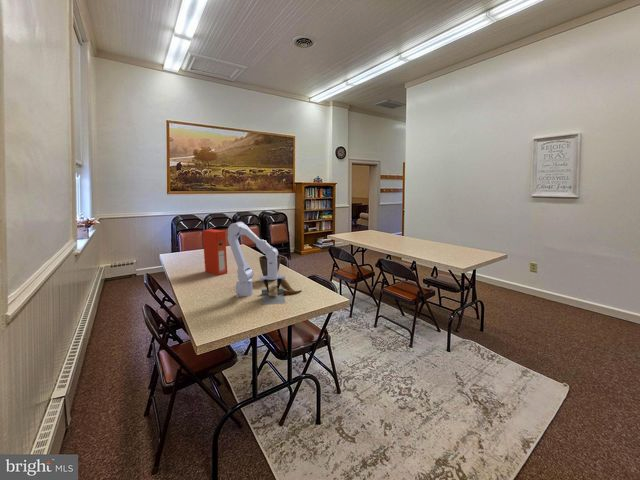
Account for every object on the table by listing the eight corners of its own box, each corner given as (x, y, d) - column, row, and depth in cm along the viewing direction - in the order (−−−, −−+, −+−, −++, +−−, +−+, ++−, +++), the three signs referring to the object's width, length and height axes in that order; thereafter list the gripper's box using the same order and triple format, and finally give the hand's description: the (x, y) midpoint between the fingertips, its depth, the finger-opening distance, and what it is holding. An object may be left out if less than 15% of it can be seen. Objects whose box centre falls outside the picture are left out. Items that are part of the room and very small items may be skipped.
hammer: (275, 281, 210) (283, 295, 181) (276, 277, 209) (284, 290, 181) (292, 282, 213) (302, 296, 185) (292, 278, 213) (303, 291, 185)
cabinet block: (268, 296, 177) (268, 288, 176) (268, 292, 183) (268, 284, 182) (277, 296, 178) (277, 287, 177) (277, 292, 184) (276, 284, 183)
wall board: (261, 306, 167) (261, 299, 166) (261, 295, 184) (261, 288, 184) (285, 305, 169) (285, 298, 169) (283, 293, 187) (283, 287, 186)
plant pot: (283, 276, 222) (282, 255, 219) (278, 283, 208) (277, 260, 205) (263, 276, 224) (262, 254, 221) (256, 282, 209) (256, 259, 206)
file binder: (217, 275, 224) (215, 232, 219) (204, 271, 235) (202, 230, 229) (227, 273, 230) (225, 231, 225) (214, 269, 241) (212, 229, 235)
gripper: (259, 271, 173) (260, 294, 175) (285, 270, 176) (285, 293, 178) (259, 268, 180) (260, 290, 182) (284, 267, 182) (284, 289, 185)
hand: (272, 291), depth 181 cm, fingers closed on cabinet block, 5 cm apart
